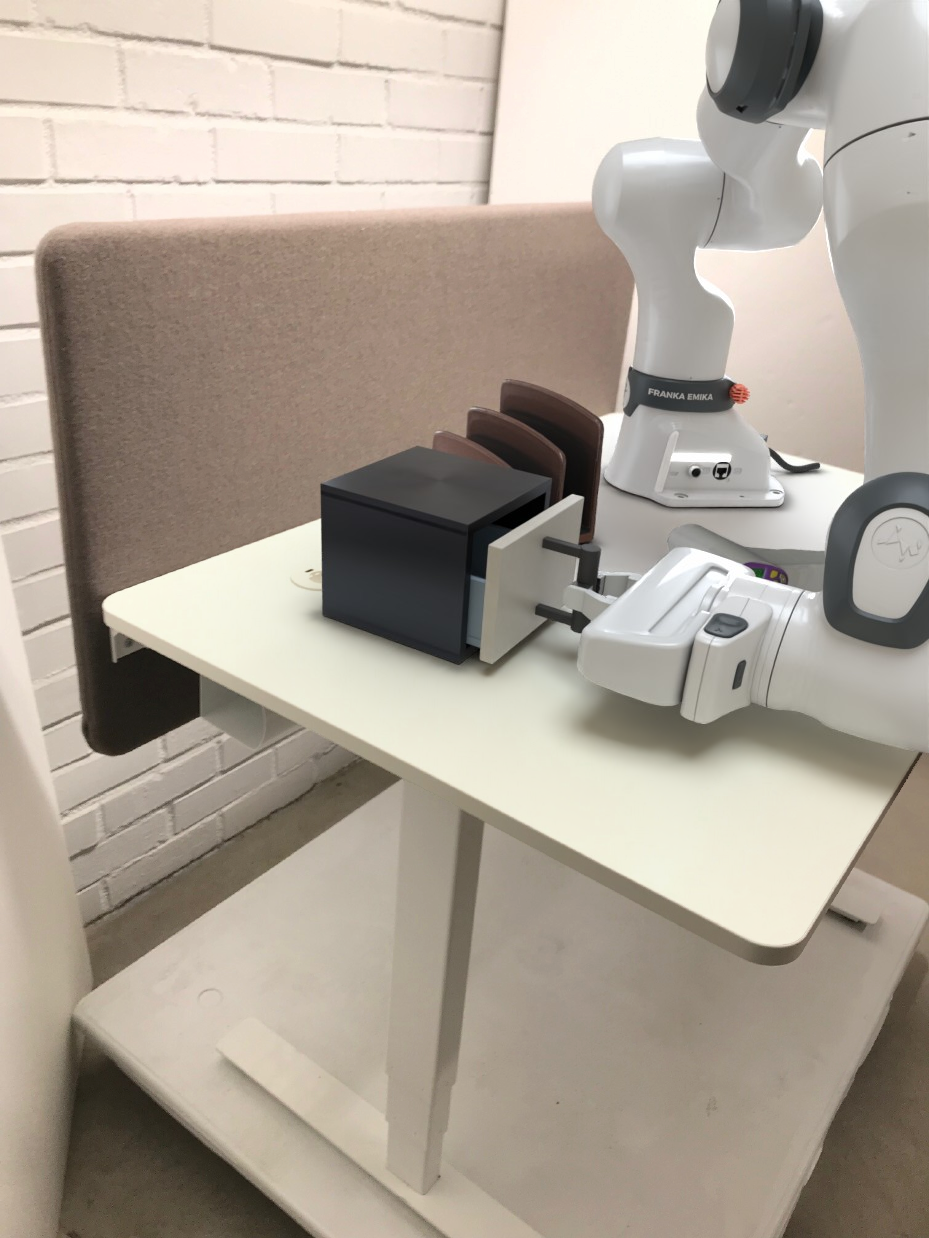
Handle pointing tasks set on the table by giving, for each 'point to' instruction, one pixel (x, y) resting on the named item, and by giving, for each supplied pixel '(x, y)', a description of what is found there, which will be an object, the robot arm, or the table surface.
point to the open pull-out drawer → (527, 577)
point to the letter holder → (537, 443)
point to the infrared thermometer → (757, 557)
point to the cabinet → (416, 542)
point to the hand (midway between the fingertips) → (575, 586)
